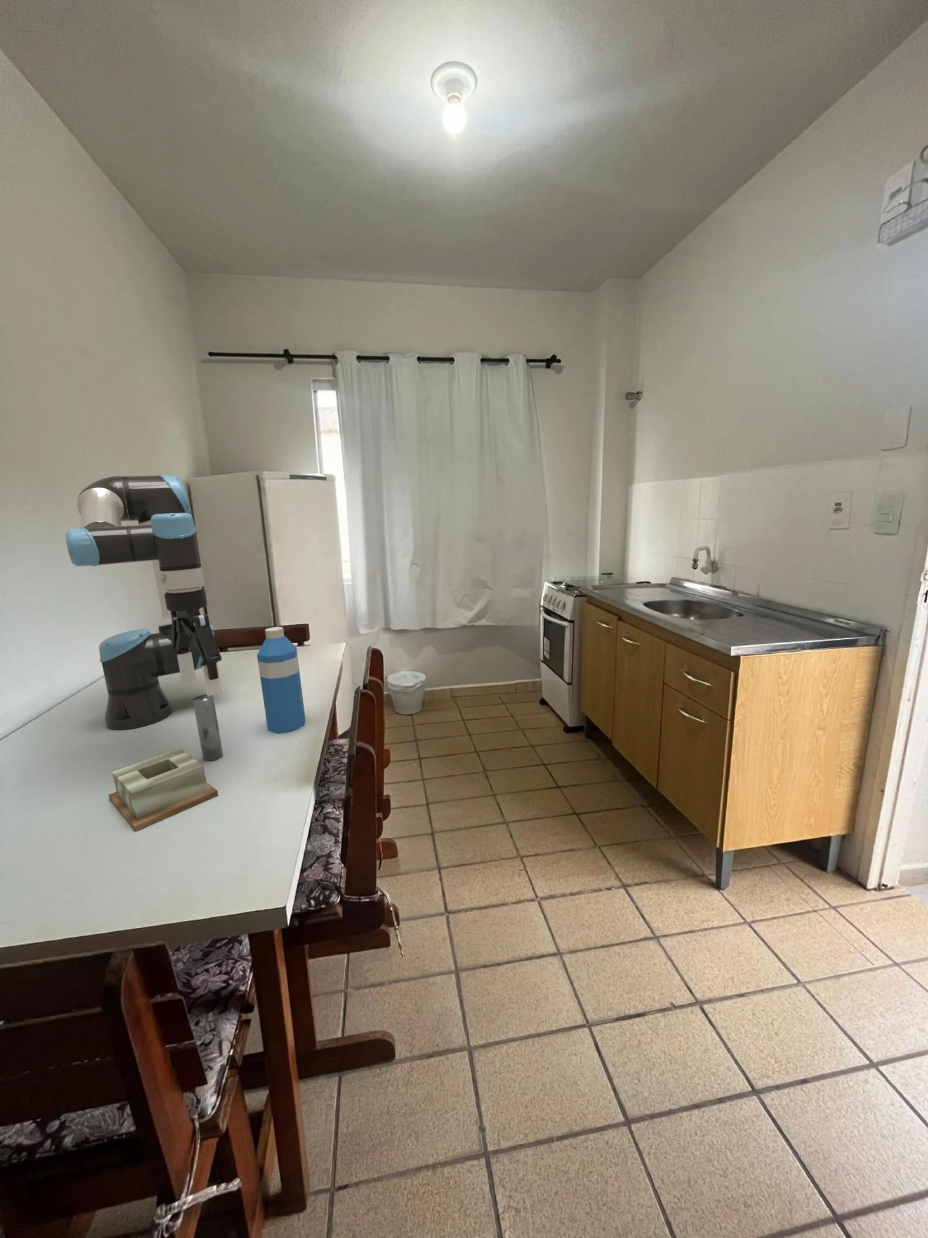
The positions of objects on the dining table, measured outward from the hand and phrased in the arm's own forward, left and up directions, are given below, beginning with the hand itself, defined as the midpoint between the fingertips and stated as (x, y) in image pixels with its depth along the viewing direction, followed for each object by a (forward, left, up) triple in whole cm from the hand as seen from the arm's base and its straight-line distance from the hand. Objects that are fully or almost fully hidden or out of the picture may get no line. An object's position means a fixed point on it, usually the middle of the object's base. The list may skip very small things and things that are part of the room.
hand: (201, 687), depth 110 cm
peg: (0, 0, -17) cm, 17 cm away
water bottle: (-2, +19, -17) cm, 25 cm away
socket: (+9, -13, -16) cm, 23 cm away
